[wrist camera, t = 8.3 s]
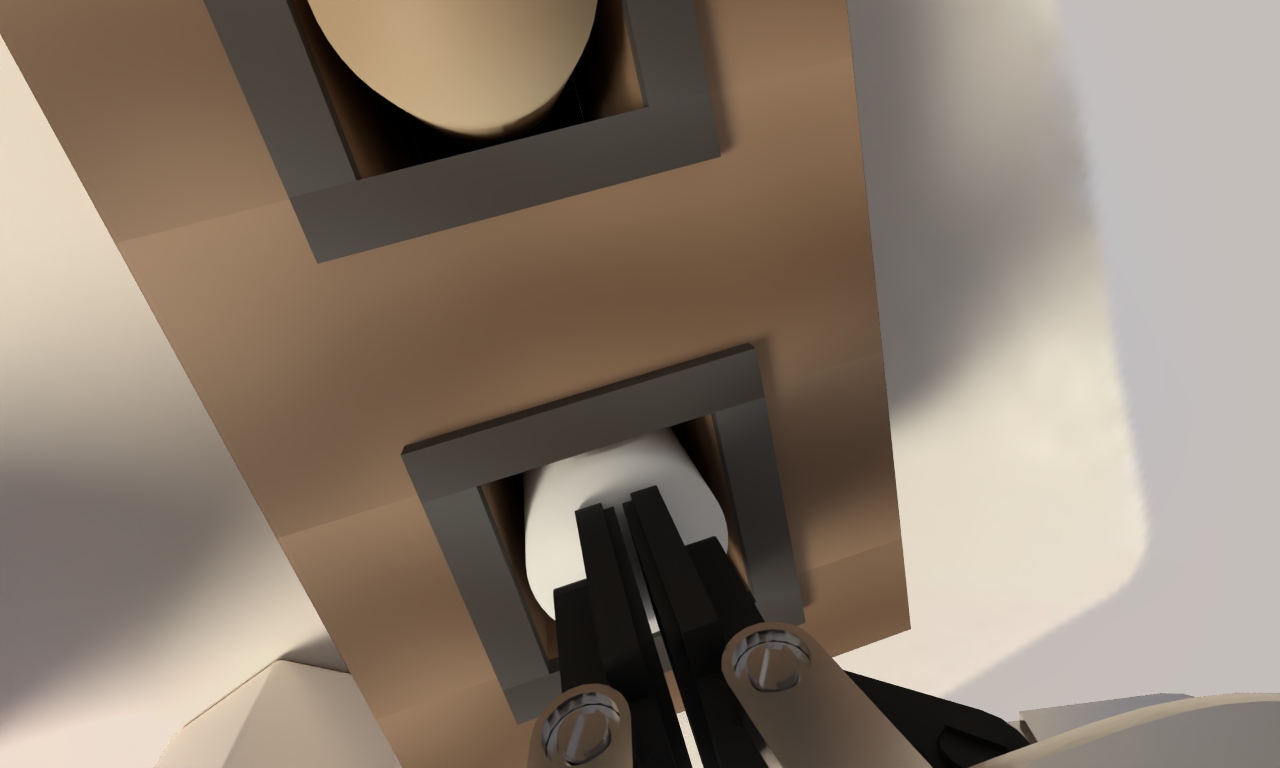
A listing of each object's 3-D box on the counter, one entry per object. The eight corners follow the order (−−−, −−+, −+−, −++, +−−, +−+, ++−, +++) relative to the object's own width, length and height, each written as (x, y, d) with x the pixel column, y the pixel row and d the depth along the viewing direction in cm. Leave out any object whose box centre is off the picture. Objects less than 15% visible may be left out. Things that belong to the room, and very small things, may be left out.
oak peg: (373, -6, 15) (236, -186, 7) (534, -41, 15) (553, -244, 8) (432, 166, 16) (366, 154, 9) (578, 129, 16) (628, 89, 9)
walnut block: (156, -104, 14) (-302, -470, 6) (653, -203, 15) (801, -612, 7) (455, 583, 21) (420, 823, 13) (777, 478, 22) (920, 640, 14)
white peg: (503, 374, 18) (497, 500, 11) (632, 336, 18) (706, 434, 11) (543, 487, 19) (559, 665, 12) (661, 450, 20) (743, 602, 13)
